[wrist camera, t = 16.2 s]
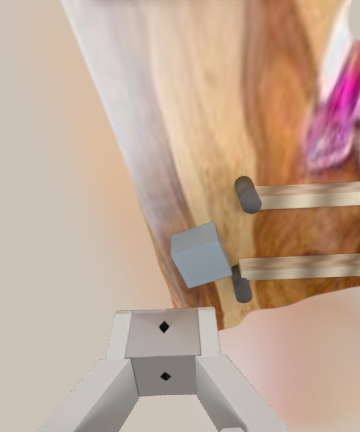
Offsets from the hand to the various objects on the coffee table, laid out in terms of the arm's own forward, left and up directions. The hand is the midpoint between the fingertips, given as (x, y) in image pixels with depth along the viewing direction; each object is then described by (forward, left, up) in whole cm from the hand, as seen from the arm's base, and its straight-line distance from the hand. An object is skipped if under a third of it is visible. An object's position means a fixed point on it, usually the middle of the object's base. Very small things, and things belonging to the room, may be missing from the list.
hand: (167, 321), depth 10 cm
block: (-3, +22, -33) cm, 40 cm away
